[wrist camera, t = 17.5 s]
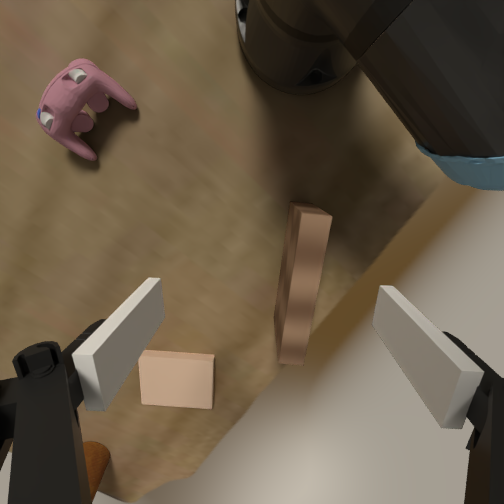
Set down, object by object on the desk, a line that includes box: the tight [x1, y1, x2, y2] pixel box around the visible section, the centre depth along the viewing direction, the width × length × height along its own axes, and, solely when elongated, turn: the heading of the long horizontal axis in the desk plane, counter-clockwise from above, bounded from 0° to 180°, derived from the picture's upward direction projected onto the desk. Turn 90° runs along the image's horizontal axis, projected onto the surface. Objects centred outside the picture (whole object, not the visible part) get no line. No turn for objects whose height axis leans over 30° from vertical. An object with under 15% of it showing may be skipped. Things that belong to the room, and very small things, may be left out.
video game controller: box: [36, 59, 137, 161], centre depth 29 cm, size 10×5×7 cm, turn 134°
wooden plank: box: [274, 202, 332, 365], centre depth 33 cm, size 18×3×10 cm, turn 175°
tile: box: [138, 350, 215, 409], centre depth 43 cm, size 2×12×10 cm
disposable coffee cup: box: [83, 442, 110, 502], centre depth 44 cm, size 10×10×12 cm
